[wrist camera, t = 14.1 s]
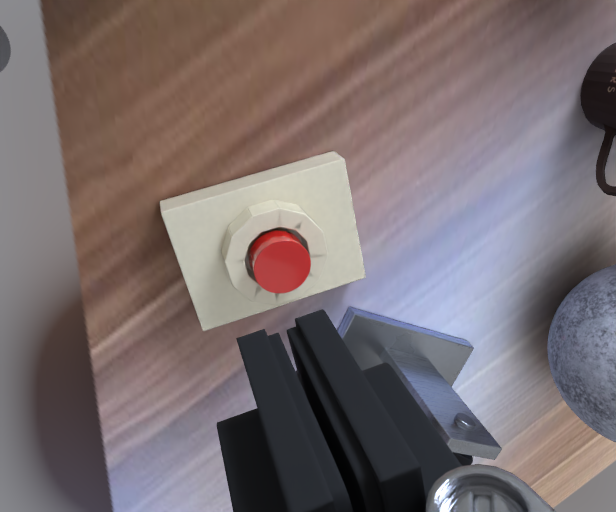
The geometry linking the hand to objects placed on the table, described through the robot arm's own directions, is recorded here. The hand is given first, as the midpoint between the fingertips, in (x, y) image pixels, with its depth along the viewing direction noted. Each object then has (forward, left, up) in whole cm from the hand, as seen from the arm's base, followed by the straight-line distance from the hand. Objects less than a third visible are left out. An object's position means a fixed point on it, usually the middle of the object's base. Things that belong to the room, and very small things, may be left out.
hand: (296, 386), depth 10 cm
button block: (+3, -9, -27) cm, 29 cm away
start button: (+3, -9, -24) cm, 25 cm away
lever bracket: (+10, -24, -27) cm, 38 cm away
